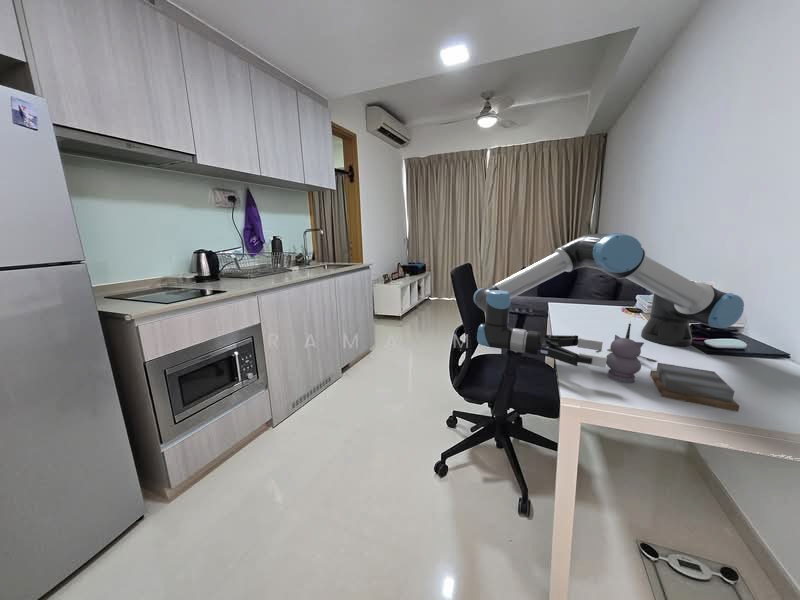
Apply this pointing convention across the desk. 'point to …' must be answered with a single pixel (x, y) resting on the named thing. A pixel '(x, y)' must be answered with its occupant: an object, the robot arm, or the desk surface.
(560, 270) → the robot arm
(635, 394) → the desk surface
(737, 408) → the display plinth
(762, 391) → the desk surface
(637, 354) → the cat figurine
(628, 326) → the eiffel tower figurine
